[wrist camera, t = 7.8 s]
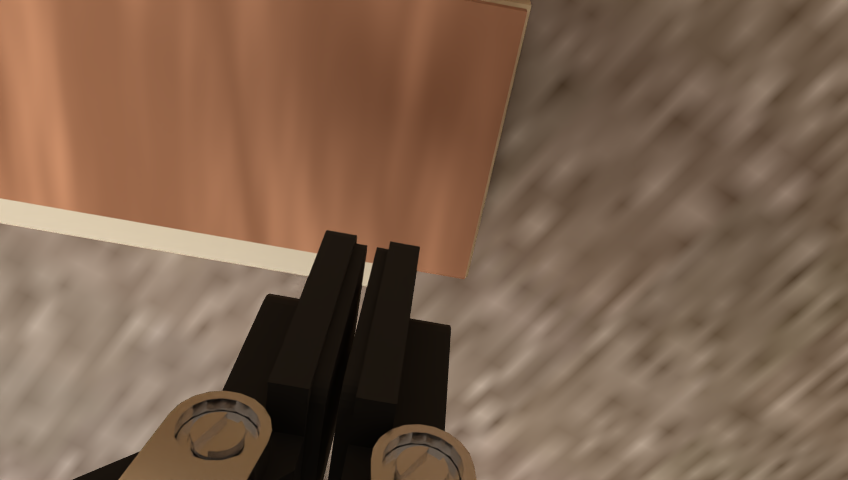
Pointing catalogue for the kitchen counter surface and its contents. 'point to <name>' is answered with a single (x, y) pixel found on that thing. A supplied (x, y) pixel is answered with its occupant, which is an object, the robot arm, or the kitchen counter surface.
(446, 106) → the slab
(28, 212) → the mat
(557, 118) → the kitchen counter surface
